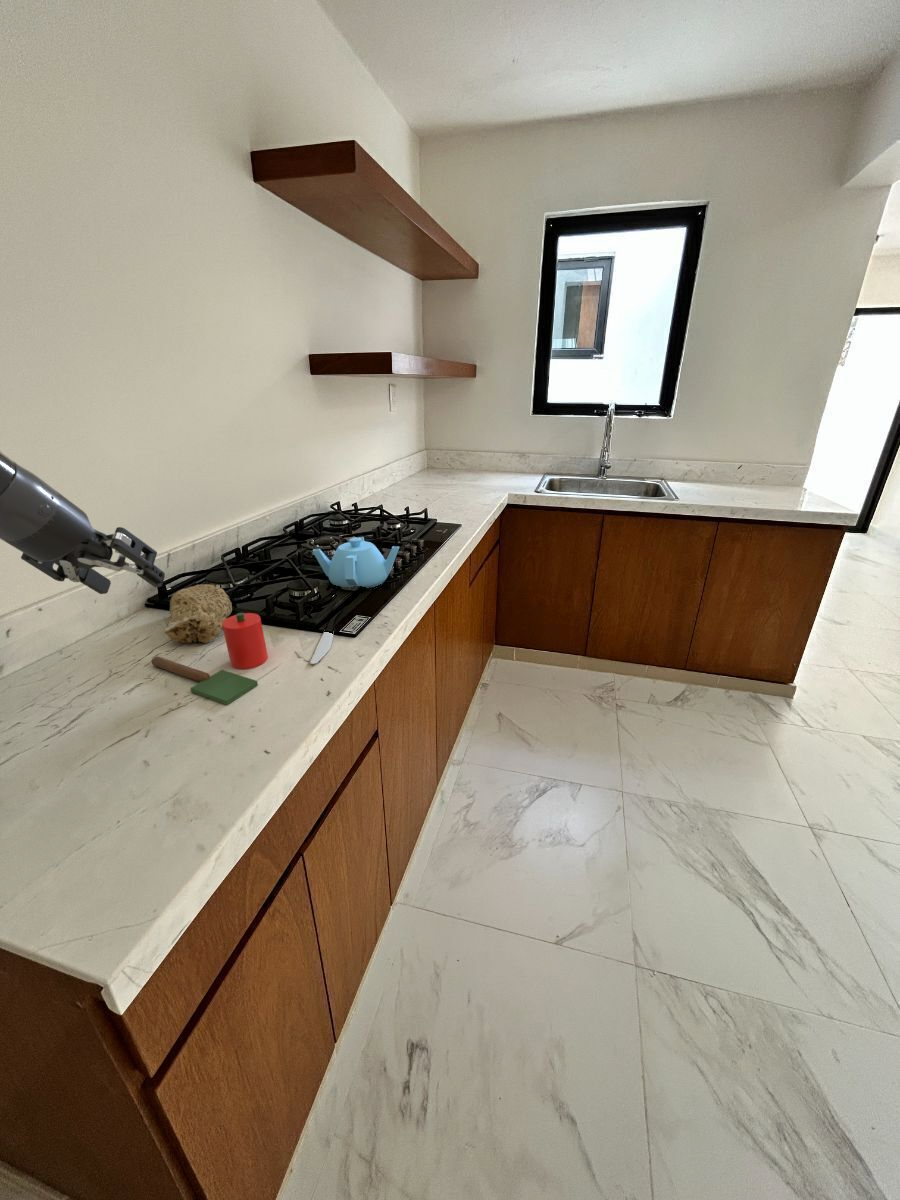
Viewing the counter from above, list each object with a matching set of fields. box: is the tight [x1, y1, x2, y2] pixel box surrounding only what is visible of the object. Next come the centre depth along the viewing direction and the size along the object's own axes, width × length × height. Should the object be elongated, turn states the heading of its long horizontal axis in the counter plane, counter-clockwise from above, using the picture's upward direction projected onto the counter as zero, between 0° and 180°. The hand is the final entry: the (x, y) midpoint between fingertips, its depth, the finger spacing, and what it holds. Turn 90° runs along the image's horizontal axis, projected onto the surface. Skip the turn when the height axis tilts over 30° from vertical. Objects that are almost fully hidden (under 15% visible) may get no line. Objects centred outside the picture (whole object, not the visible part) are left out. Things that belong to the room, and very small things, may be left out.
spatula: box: [150, 656, 259, 706], centre depth 80 cm, size 21×6×2 cm, turn 63°
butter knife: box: [309, 631, 334, 665], centre depth 96 cm, size 1×27×3 cm
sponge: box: [164, 583, 233, 644], centre depth 98 cm, size 13×8×20 cm
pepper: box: [222, 612, 269, 670], centre depth 84 cm, size 6×6×9 cm
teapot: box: [312, 536, 400, 588], centre depth 116 cm, size 15×15×11 cm
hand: (133, 584), depth 69 cm, fingers open, 8 cm apart
